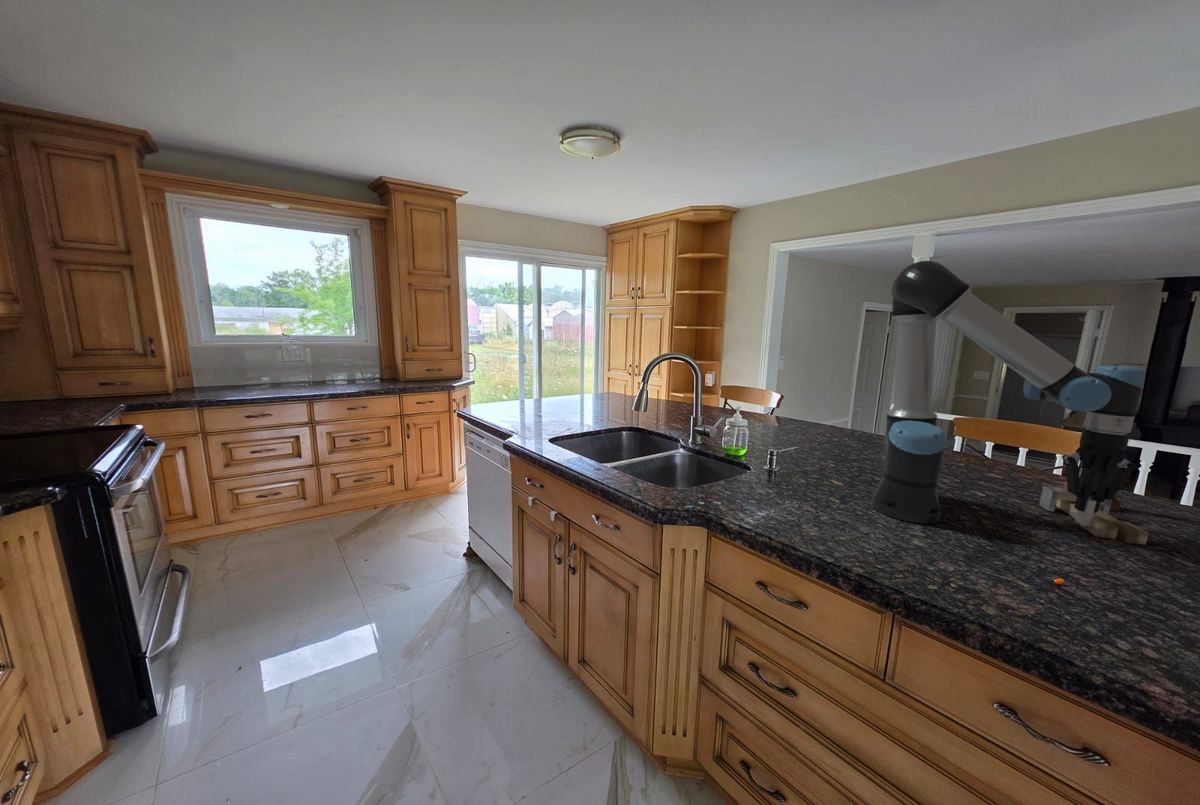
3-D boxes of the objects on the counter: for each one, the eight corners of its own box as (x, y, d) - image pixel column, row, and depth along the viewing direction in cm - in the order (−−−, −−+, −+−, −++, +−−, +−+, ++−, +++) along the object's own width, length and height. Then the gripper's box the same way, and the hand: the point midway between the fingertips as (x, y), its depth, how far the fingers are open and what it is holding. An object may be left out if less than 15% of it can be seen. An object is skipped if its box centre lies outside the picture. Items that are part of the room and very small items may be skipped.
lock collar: (1048, 510, 120) (1054, 483, 119) (1039, 505, 124) (1045, 479, 122) (1107, 518, 116) (1114, 490, 115) (1096, 512, 120) (1102, 485, 119)
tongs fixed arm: (1116, 540, 104) (1120, 528, 104) (1052, 503, 126) (1054, 492, 126) (1145, 544, 103) (1149, 531, 102) (1075, 505, 125) (1077, 495, 124)
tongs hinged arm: (1095, 536, 106) (1100, 519, 105) (1040, 499, 128) (1044, 485, 127) (1129, 541, 104) (1134, 524, 103) (1067, 503, 126) (1071, 488, 125)
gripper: (1082, 431, 104) (1059, 525, 108) (1155, 438, 100) (1128, 535, 104) (1061, 424, 111) (1040, 513, 115) (1128, 430, 107) (1104, 521, 111)
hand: (1082, 523), depth 109 cm, fingers closed
